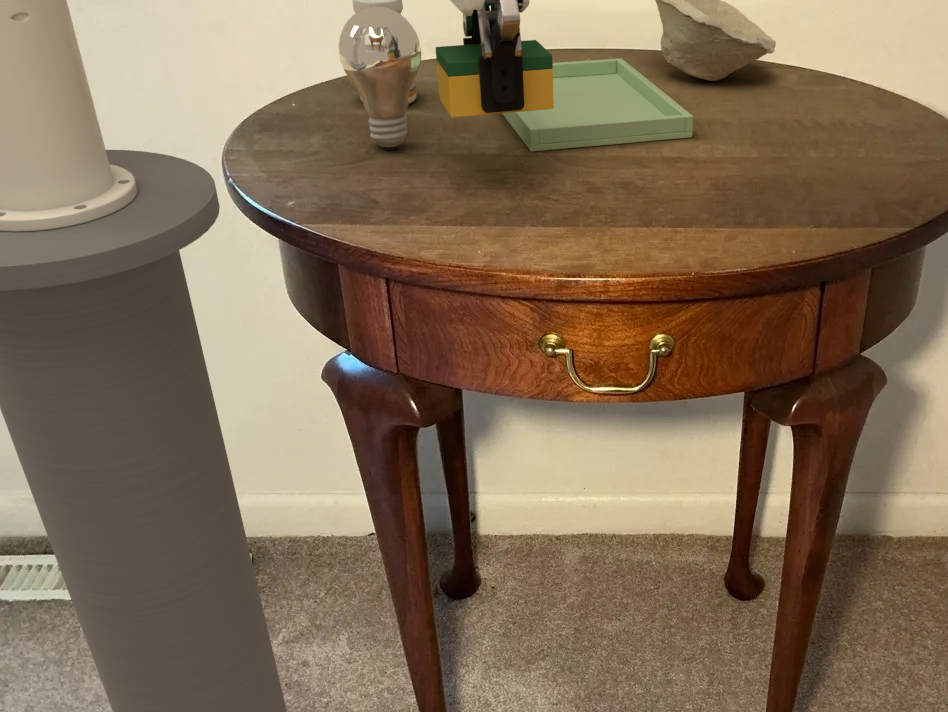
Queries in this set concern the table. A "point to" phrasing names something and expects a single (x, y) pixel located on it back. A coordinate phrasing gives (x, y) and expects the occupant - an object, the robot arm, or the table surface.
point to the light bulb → (381, 69)
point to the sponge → (464, 80)
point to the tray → (601, 109)
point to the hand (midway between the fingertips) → (494, 97)
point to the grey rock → (709, 37)
